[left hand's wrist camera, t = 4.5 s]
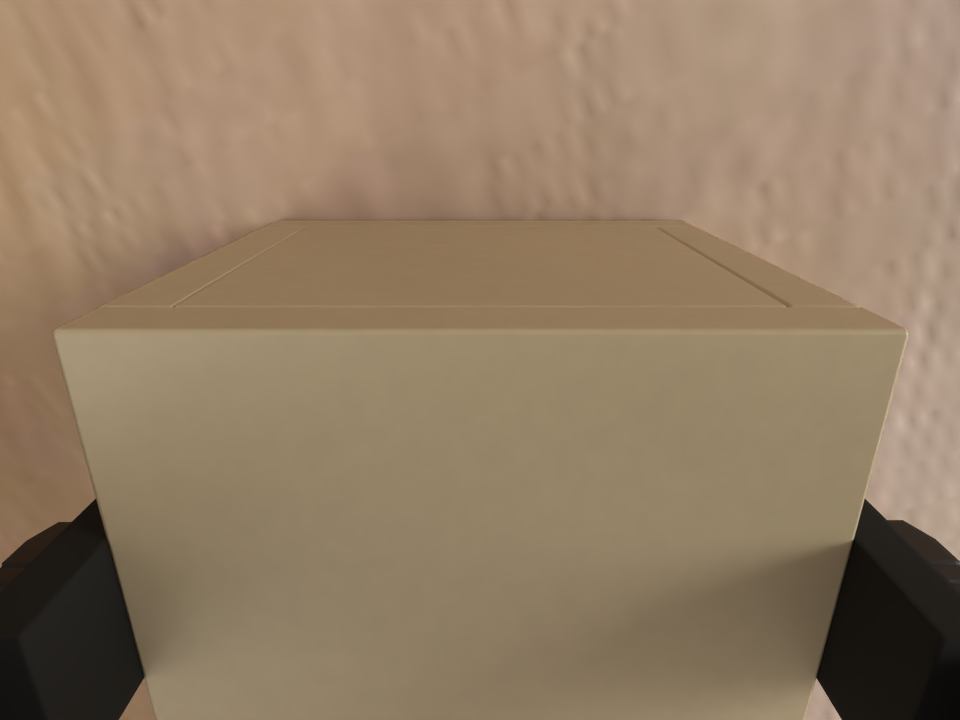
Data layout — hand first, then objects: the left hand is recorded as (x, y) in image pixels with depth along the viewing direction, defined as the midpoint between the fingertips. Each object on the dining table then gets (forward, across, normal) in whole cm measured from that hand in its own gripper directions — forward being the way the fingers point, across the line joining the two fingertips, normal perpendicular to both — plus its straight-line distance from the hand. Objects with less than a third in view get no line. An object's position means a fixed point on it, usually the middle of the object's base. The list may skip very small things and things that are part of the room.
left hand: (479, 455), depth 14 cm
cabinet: (+4, 0, -4) cm, 6 cm away
